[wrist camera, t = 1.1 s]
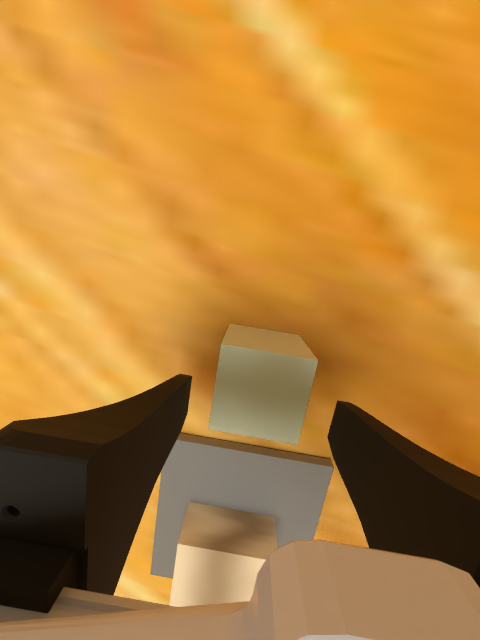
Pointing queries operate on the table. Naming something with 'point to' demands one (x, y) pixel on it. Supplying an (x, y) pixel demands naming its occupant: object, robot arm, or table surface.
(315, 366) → the sage block
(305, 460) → the gray board
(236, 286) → the table surface
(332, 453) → the robot arm
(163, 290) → the table surface
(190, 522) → the birch plinth
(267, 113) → the table surface
